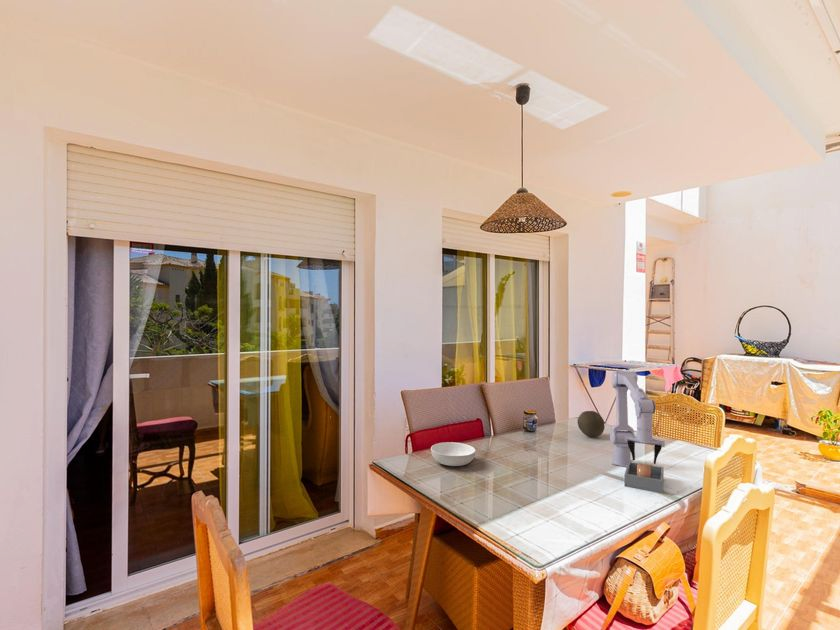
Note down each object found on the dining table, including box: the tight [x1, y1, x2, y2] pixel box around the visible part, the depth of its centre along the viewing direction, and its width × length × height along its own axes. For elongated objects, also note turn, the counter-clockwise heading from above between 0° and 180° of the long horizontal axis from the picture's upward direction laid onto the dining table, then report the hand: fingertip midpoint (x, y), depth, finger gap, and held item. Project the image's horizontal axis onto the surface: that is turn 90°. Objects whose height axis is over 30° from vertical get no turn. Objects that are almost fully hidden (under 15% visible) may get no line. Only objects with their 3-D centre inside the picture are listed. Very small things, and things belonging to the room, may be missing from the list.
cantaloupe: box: [576, 410, 605, 438], centre depth 246 cm, size 14×14×15 cm
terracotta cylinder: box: [637, 463, 651, 478], centre depth 177 cm, size 5×5×7 cm
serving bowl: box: [430, 441, 477, 467], centre depth 201 cm, size 21×21×7 cm
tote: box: [624, 461, 665, 494], centre depth 180 cm, size 18×14×5 cm
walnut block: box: [638, 462, 653, 478], centre depth 183 cm, size 5×5×5 cm
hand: (644, 461), depth 177 cm, fingers open, 7 cm apart
